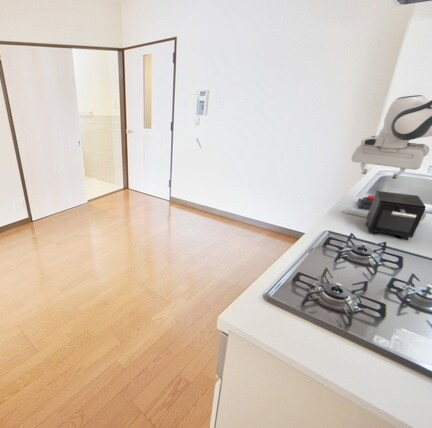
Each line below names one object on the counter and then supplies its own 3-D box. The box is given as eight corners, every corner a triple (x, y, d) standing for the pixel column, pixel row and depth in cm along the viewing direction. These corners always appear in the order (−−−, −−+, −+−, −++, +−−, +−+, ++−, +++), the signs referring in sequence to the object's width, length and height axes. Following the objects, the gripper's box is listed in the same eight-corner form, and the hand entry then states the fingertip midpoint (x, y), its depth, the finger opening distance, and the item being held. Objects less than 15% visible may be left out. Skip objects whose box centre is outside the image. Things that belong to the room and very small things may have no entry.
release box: (378, 206, 132) (382, 198, 130) (381, 212, 126) (384, 204, 124) (357, 202, 136) (359, 195, 134) (358, 208, 130) (361, 200, 128)
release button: (375, 199, 130) (376, 196, 129) (376, 202, 127) (377, 198, 126) (366, 198, 131) (367, 195, 131) (367, 200, 129) (368, 197, 128)
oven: (409, 241, 103) (425, 206, 98) (367, 233, 110) (380, 200, 104) (403, 228, 112) (418, 195, 106) (365, 221, 119) (376, 190, 113)
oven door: (415, 244, 98) (429, 215, 93) (371, 236, 104) (382, 208, 99) (411, 236, 102) (424, 207, 98) (370, 229, 109) (380, 201, 104)
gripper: (432, 143, 101) (415, 179, 107) (360, 137, 115) (349, 169, 121) (431, 146, 97) (414, 183, 103) (356, 139, 111) (345, 173, 117)
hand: (378, 176), depth 112 cm, fingers open, 8 cm apart
